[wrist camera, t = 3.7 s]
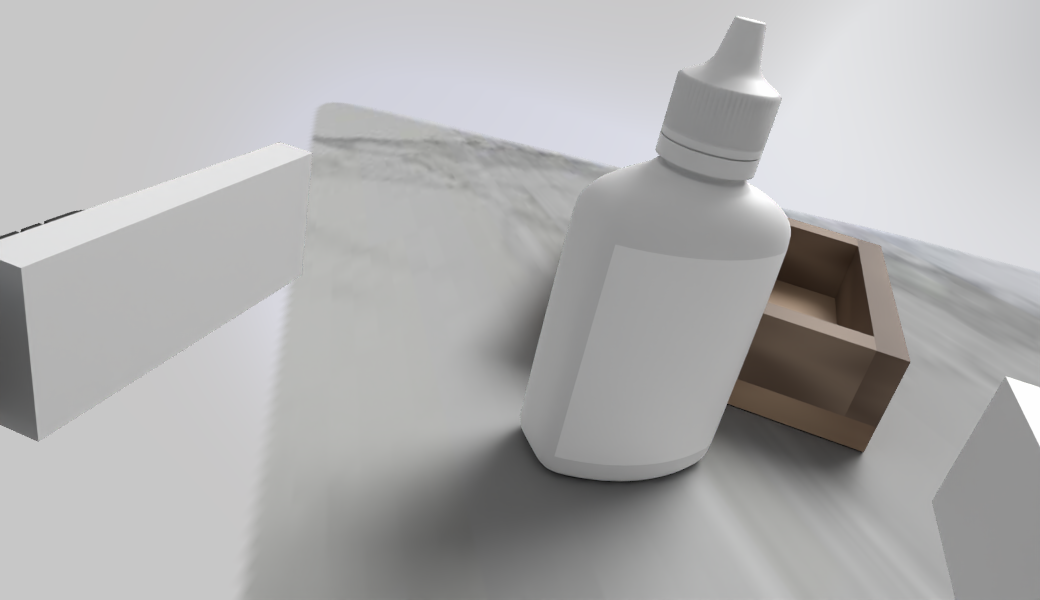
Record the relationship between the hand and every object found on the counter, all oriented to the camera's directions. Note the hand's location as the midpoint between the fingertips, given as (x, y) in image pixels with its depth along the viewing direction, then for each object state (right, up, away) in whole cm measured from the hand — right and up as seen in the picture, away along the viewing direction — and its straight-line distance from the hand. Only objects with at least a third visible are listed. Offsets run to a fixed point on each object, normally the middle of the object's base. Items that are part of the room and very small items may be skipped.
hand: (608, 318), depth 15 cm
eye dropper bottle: (+1, -4, +8) cm, 9 cm away
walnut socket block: (+6, -1, +16) cm, 17 cm away
